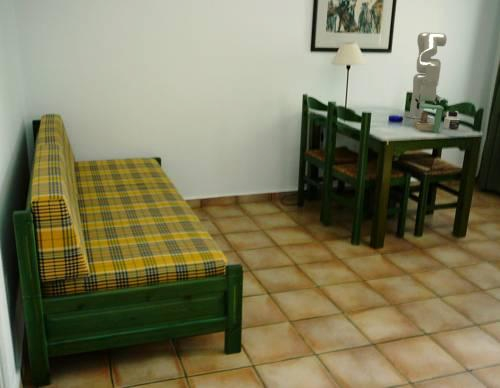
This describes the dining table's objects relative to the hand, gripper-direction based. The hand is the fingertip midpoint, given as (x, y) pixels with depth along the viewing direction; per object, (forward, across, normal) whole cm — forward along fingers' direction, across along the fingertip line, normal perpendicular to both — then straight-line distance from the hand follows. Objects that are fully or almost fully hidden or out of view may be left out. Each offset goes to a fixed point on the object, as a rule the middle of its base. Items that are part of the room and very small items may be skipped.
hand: (425, 109), depth 346 cm
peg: (+12, 0, +1) cm, 12 cm away
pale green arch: (+12, -1, +11) cm, 16 cm away
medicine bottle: (+13, -19, -1) cm, 23 cm away
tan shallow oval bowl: (+12, 0, +3) cm, 13 cm away
